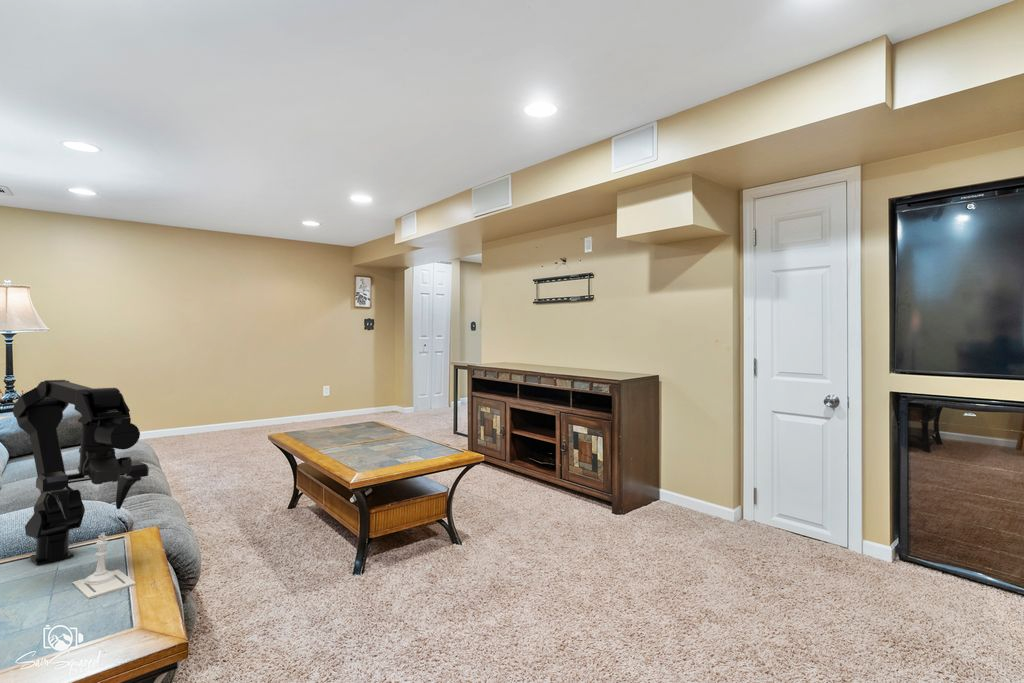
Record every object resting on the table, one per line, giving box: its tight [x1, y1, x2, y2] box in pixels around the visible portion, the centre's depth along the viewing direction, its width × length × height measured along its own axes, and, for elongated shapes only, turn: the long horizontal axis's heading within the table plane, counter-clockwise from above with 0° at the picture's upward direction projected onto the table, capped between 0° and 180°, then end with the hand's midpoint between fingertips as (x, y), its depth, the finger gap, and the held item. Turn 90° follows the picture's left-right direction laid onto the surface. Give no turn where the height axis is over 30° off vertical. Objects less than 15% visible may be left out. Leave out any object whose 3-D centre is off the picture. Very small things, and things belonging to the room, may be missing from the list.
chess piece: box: [85, 532, 115, 585], centre depth 107 cm, size 5×5×10 cm
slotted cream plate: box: [71, 569, 137, 600], centre depth 106 cm, size 10×8×1 cm
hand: (93, 513), depth 111 cm, fingers open, 9 cm apart
